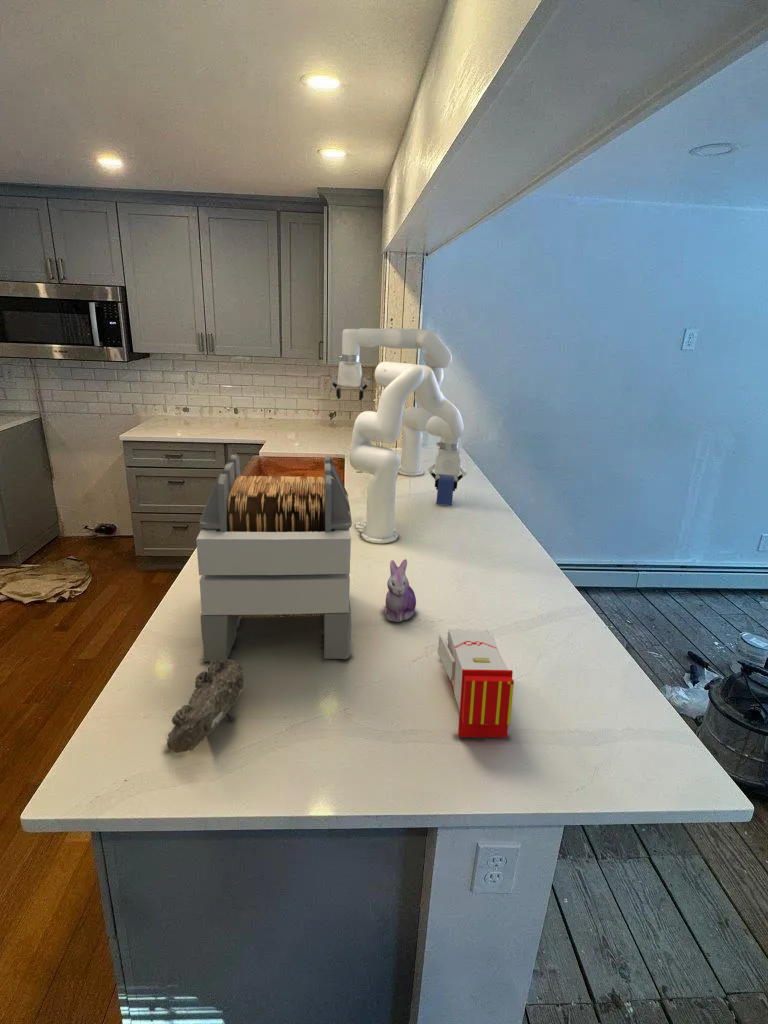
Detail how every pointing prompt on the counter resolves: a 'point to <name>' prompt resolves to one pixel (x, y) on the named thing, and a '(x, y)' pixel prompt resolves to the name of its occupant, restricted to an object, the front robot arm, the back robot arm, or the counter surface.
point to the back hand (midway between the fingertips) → (349, 399)
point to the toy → (478, 682)
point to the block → (445, 490)
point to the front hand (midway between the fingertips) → (445, 489)
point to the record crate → (275, 555)
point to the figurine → (399, 594)
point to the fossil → (206, 705)
